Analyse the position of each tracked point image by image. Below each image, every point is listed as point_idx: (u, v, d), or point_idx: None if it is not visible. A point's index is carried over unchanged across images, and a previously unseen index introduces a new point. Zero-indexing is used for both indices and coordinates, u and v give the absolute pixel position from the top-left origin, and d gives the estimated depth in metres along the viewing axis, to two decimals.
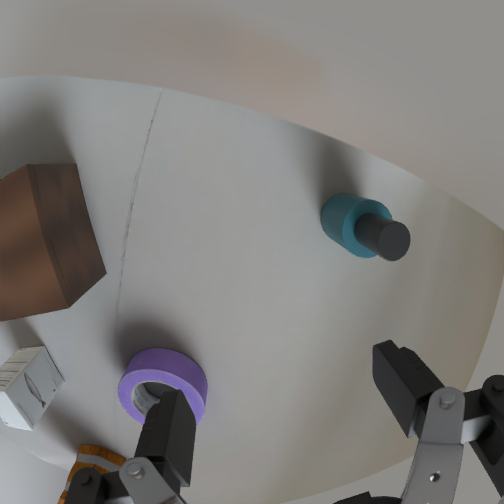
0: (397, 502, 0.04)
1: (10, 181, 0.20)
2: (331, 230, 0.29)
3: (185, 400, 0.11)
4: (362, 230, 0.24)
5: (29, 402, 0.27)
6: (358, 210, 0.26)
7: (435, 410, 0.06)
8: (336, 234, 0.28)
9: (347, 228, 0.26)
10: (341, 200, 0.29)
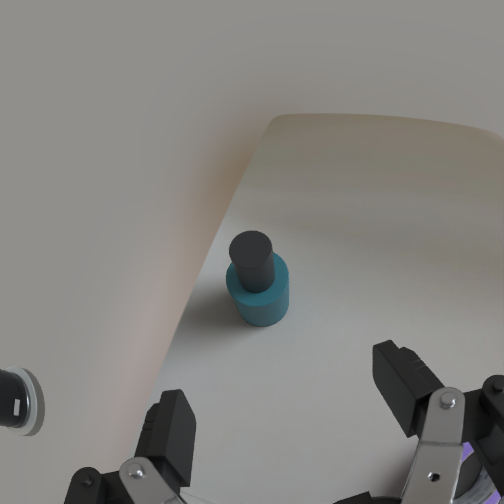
0: (397, 502, 0.04)
1: None
2: (267, 315, 0.28)
3: (185, 400, 0.11)
4: (250, 284, 0.24)
5: None
6: (236, 289, 0.26)
7: (435, 410, 0.06)
8: (268, 311, 0.26)
9: (255, 300, 0.25)
10: None
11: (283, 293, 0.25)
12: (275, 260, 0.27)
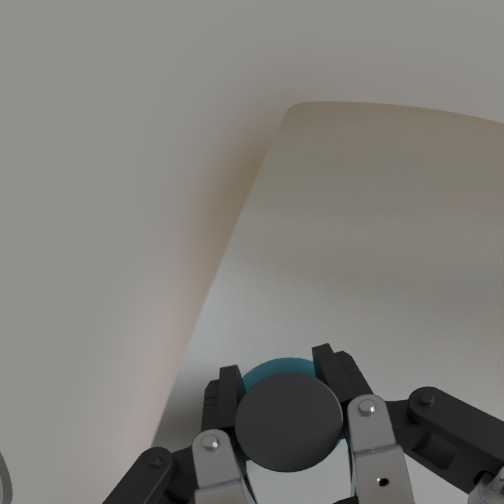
0: None
1: None
2: None
3: (240, 376, 0.12)
4: None
5: None
6: None
7: (357, 420, 0.07)
8: None
9: None
10: None
11: (337, 443, 0.11)
12: None
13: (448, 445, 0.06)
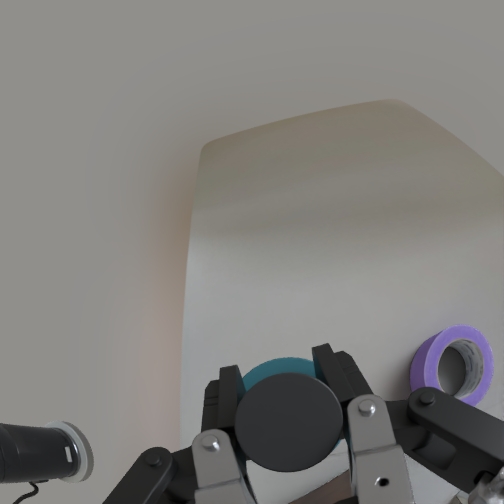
0: None
1: None
2: None
3: (240, 376, 0.12)
4: None
5: None
6: None
7: (357, 420, 0.07)
8: None
9: None
10: None
11: (337, 443, 0.11)
12: None
13: (448, 445, 0.06)
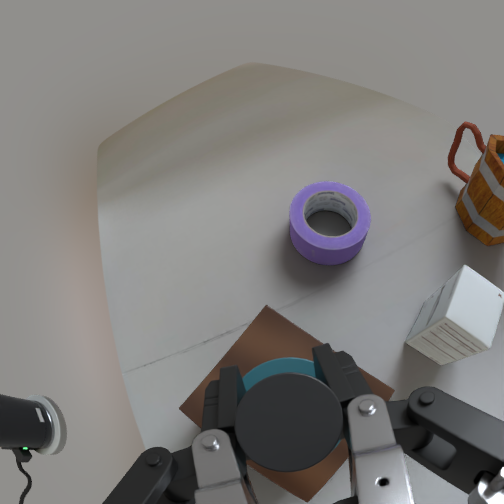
0: None
1: None
2: None
3: (240, 376, 0.12)
4: None
5: (444, 294, 0.28)
6: None
7: (357, 420, 0.07)
8: None
9: None
10: None
11: (337, 443, 0.11)
12: None
13: (448, 445, 0.06)
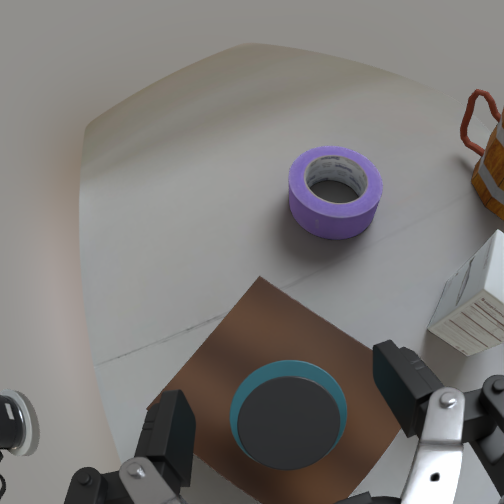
0: (397, 502, 0.04)
1: None
2: None
3: (185, 400, 0.11)
4: None
5: (476, 266, 0.22)
6: None
7: (435, 410, 0.06)
8: None
9: None
10: None
11: None
12: (323, 384, 0.13)
13: None
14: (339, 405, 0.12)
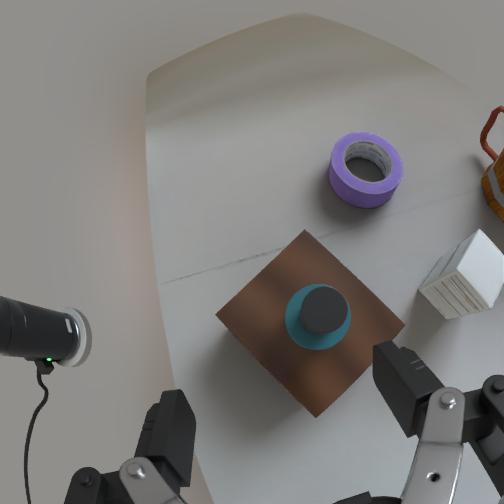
0: (397, 502, 0.04)
1: (235, 327, 0.31)
2: None
3: (185, 400, 0.11)
4: (314, 333, 0.22)
5: (458, 251, 0.31)
6: (295, 328, 0.24)
7: (435, 410, 0.06)
8: None
9: (313, 343, 0.23)
10: None
11: None
12: None
13: None
14: (346, 315, 0.24)
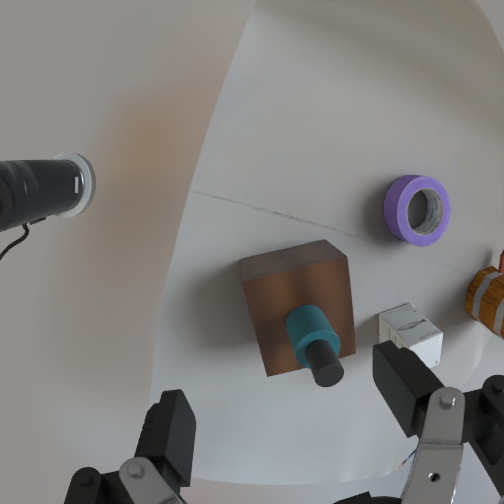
0: (397, 502, 0.04)
1: (252, 298, 0.38)
2: None
3: (185, 400, 0.11)
4: None
5: (420, 329, 0.42)
6: (300, 350, 0.33)
7: (435, 410, 0.06)
8: None
9: (304, 362, 0.33)
10: (290, 335, 0.36)
11: None
12: (336, 348, 0.33)
13: None
14: None
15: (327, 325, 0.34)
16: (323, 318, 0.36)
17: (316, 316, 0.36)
